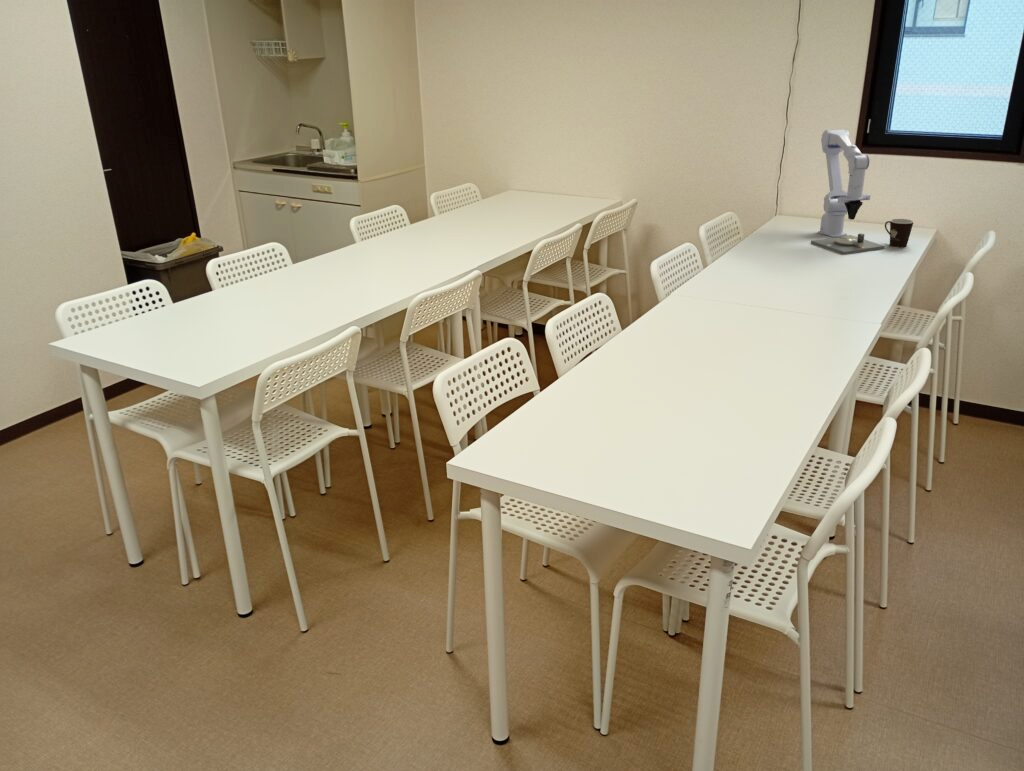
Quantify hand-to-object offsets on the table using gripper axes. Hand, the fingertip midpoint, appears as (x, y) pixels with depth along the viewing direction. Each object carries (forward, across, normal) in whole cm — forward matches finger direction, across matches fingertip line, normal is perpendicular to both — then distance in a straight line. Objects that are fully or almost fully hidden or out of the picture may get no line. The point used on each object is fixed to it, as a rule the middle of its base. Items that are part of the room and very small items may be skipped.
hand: (851, 219), depth 341 cm
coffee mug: (+10, +15, -11) cm, 21 cm away
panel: (+10, -4, -4) cm, 11 cm away
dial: (+9, -4, -6) cm, 11 cm away
